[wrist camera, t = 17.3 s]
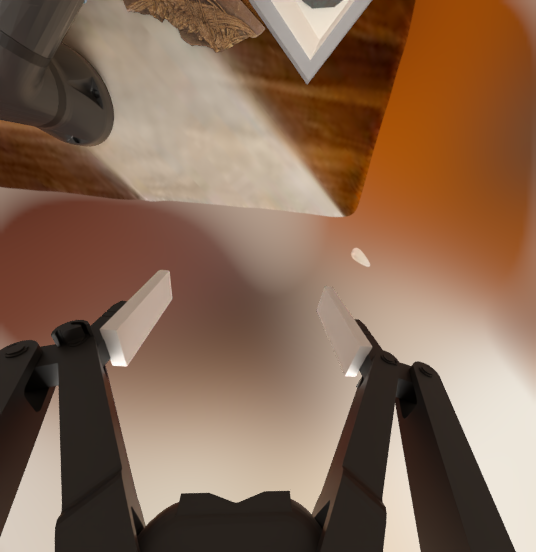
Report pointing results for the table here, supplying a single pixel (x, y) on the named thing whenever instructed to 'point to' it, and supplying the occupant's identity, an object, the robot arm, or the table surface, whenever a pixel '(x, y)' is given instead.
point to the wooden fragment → (203, 20)
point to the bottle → (322, 3)
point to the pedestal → (308, 29)
